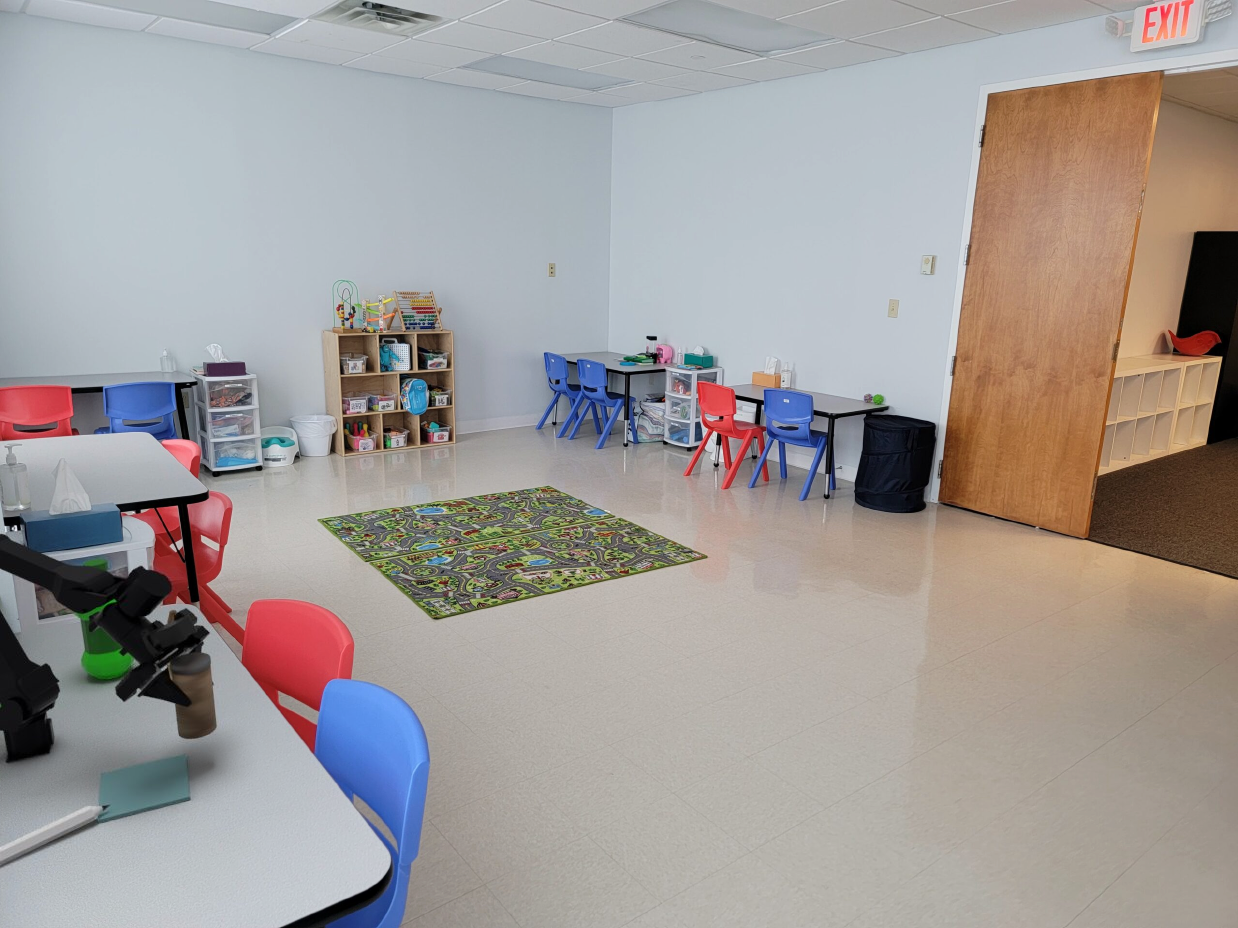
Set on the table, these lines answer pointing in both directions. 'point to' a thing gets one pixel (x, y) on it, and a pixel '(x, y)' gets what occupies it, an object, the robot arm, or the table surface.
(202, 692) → the brown upright cylinder
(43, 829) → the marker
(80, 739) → the table surface
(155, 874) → the table surface
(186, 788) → the mat
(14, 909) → the table surface
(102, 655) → the plastic bottle
